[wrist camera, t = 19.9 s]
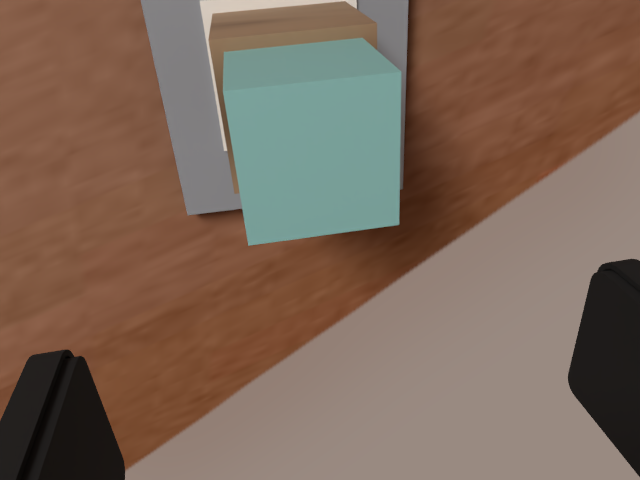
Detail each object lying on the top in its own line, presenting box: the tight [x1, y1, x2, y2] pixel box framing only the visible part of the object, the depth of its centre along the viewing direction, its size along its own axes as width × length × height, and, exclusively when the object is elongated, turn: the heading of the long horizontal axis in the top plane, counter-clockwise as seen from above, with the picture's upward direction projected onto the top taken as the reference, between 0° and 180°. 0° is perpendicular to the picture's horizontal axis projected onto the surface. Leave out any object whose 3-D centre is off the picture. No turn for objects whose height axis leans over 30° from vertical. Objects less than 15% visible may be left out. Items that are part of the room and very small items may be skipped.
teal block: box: [223, 38, 401, 245], centre depth 18 cm, size 5×5×5 cm
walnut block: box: [208, 1, 377, 194], centre depth 23 cm, size 6×6×6 cm
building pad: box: [141, 0, 408, 215], centre depth 26 cm, size 14×12×1 cm
